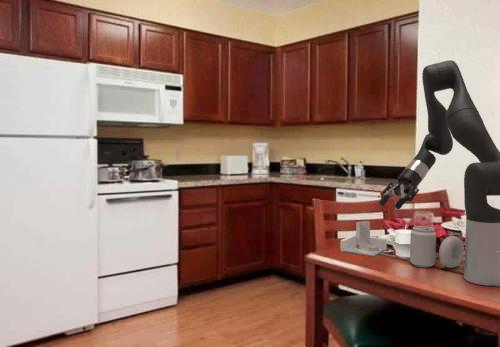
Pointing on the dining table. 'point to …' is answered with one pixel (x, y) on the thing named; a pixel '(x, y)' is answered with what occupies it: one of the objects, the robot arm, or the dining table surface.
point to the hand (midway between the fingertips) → (388, 206)
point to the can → (423, 246)
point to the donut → (457, 252)
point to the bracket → (364, 237)
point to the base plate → (361, 252)
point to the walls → (351, 242)
